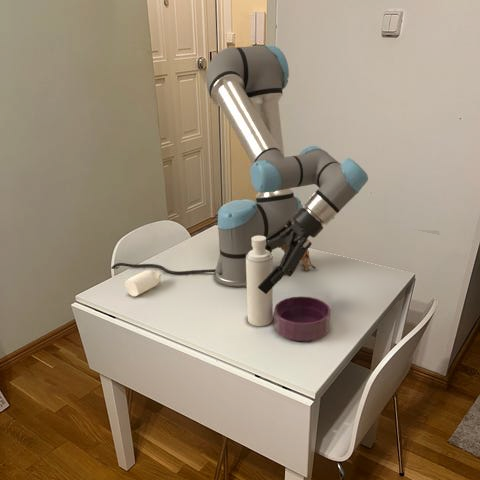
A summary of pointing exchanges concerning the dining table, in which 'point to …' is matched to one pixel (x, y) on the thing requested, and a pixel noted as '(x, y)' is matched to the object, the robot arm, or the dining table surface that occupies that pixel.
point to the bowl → (302, 318)
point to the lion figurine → (305, 256)
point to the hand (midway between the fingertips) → (255, 278)
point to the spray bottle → (258, 283)
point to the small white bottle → (142, 282)
